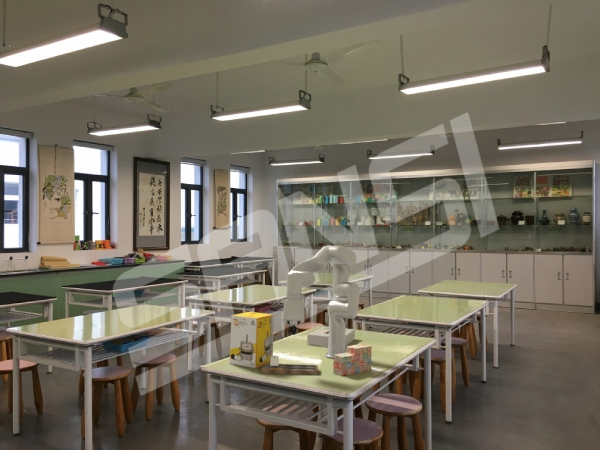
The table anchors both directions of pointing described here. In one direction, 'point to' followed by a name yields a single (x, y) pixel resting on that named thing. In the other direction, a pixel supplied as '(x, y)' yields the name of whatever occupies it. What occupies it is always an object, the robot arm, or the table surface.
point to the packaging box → (251, 339)
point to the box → (327, 337)
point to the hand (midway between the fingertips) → (293, 334)
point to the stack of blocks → (353, 360)
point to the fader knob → (274, 360)
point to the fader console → (290, 369)
